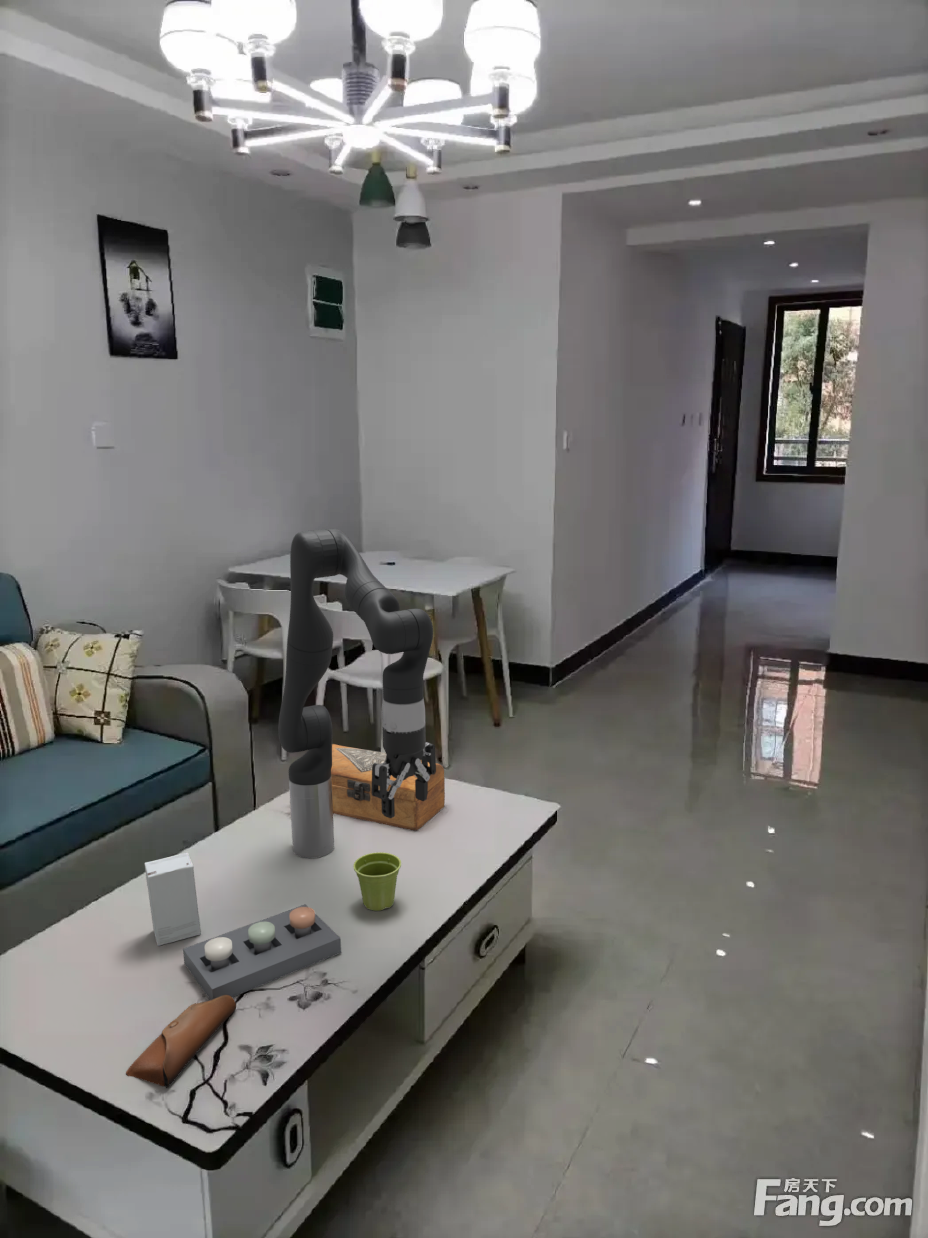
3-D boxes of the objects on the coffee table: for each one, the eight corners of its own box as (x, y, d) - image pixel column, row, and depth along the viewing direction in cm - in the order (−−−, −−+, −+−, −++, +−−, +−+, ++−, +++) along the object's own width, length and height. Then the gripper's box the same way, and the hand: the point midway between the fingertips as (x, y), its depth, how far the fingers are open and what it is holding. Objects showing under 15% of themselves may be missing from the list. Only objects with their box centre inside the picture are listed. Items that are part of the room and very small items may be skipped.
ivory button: (202, 965, 155) (200, 943, 154) (227, 956, 157) (225, 934, 156) (212, 979, 151) (210, 956, 150) (237, 969, 154) (236, 946, 153)
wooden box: (306, 811, 217) (304, 758, 214) (344, 785, 232) (342, 735, 229) (413, 835, 205) (412, 780, 201) (446, 807, 219) (445, 754, 216)
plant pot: (395, 918, 171) (393, 878, 169) (348, 913, 173) (346, 873, 171) (407, 893, 180) (406, 854, 178) (363, 888, 182) (361, 850, 180)
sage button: (245, 949, 159) (244, 927, 158) (269, 940, 162) (268, 918, 161) (256, 961, 156) (254, 939, 155) (280, 952, 158) (278, 930, 157)
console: (184, 963, 158) (182, 948, 157) (306, 918, 172) (305, 904, 171) (213, 1005, 147) (212, 989, 146) (341, 952, 161) (340, 938, 160)
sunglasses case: (192, 1000, 148) (207, 974, 145) (225, 1026, 147) (241, 1000, 144) (121, 1076, 131) (136, 1048, 129) (157, 1106, 130) (174, 1079, 128)
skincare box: (196, 920, 171) (190, 850, 168) (201, 936, 166) (195, 864, 162) (150, 931, 168) (143, 860, 164) (154, 948, 162) (147, 875, 159)
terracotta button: (286, 933, 164) (285, 912, 163) (308, 925, 167) (307, 904, 166) (297, 945, 160) (296, 923, 159) (320, 936, 163) (319, 915, 162)
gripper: (415, 707, 161) (416, 789, 165) (359, 729, 151) (361, 816, 155) (446, 716, 157) (447, 800, 161) (391, 739, 146) (393, 829, 150)
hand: (405, 808), depth 158 cm, fingers open, 8 cm apart
